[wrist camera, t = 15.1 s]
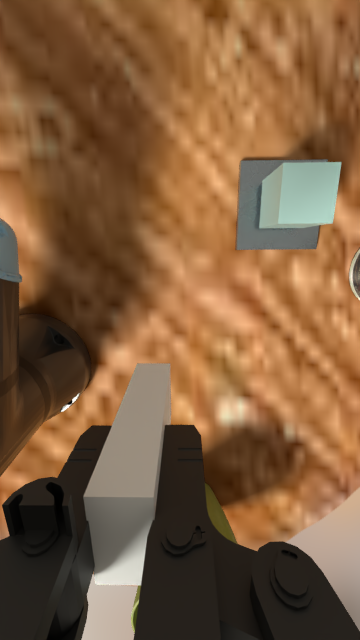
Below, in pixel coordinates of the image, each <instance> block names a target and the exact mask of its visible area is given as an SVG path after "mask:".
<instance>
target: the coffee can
mask: <svg viewBox="0 0 360 640" xmlns="http://www.w3.org/2000/svg"><path fill="white" fill-rule="evenodd" d="M349 281H350V286H351V289H352V291H353V293H354V294H355V296H356V297H357V298H358V299H359V300H360V248H359V250H358V251H357V253H356V254H355V256H354V258H353V260H352V263H351V267H350V272H349Z"/></svg>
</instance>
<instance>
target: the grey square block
mask: <svg viewBox="0 0 360 640" xmlns="http://www.w3.org/2000/svg"><path fill="white" fill-rule="evenodd" d="M304 162H328V159H325V160H254V161H240V165H239V186H238V206H237V227H236V248H235V250H254V249H316V247H317V239H318V231H319V226H312V227H306V228H259V223H260V209H261V195H262V181H263V180H264V179H265V178H266V177H267V176H269V175H270V174H271V173H272V172H273V171H274V170H276V169H277V168H278V167H279V166H280V165H281V164H283V163H304Z"/></svg>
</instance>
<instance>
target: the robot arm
mask: <svg viewBox="0 0 360 640" xmlns="http://www.w3.org/2000/svg"><path fill="white" fill-rule="evenodd" d="M19 282H22V276H21V275H20V274H19V264H18V246H17V238H16V235H15V233H14V231H13V229H12V228H11V227H10V226H9V225H8V224H7V223H6V222H5V221H4V220H2V219H1V218H0V476H1V475H2V474H3V473H4V471H5V470H6V469H7V468H8V466H9V465H10V464H11V463H12V461H13V460H14V459H15V458H16V456H17V455H18V454H19V453H20V451H21V450H22V449H23V447H24V446H25V445H26V444H27V442H28V441H29V440H30V439H31V437H32V436H33V435H34V434H35V432H36V431H37V430H38V429H39V427H40V426H41V425H42V423H43V422H45V421H47V420H48V419H50V418H52V417H54V416H55V415H57V414H59V413H60V412H62V411H64V410H66V409H67V408H69V407H70V406H71V405H72V404H74V403H75V402H76V401H77V399H78V398H79V397H80V395H81V394H82V393H83V391H84V390H85V388H86V386H87V384H88V382H89V379H90V375H91V361H90V356H89V353H88V351H87V348H86V346H85V344H84V343H83V341H82V340H81V338H80V337H79V336H78V335H77V333H76V332H75V331H74V330H72V329H71V328H70V327H69V326H67V325H66V324H64V323H63V322H61V321H59V320H57V319H55V318H52V317H49V316H46V315H41V314H23V315H19ZM170 423H171V384H170V364H137V365H136V368H135V370H134V373H133V375H132V378H131V380H130V383H129V385H128V388H127V390H126V393H125V395H124V398H123V400H122V402H121V405H120V407H119V410H118V412H117V415H116V417H115V420H114V422H113V425H112V426H91V427H90V428H89V429H88V430H87V431H85V432H84V433H83V434H82V435H81V436H80V438H79V439H78V441H77V443H76V445H75V447H74V449H73V451H72V452H71V454H70V456H69V458H68V460H67V462H66V463H65V465H64V467H63V469H62V470H61V472H60V474H59V476H58V478H54V477H48V478H41V479H37V480H35V481H33V482H30V483H28V484H25V485H24V486H23V487H21V488H20V489H18V490H17V491H15V492H14V493H13V494H12V495H11V496H10V497H9V498H8V499H7V500H6V501H5V502H4V504H3V505H2V507H3V511H4V515H5V519H6V523H7V527H8V531H9V535H10V536H9V537H7V538H5V539H2V540H0V640H81V638H82V634H83V631H84V627H85V623H86V619H87V611H88V601H87V592H88V588H89V585H90V581H91V578H92V574H93V571H94V577H95V584H96V585H141V588H140V596H139V604H138V611H137V619H136V627H135V634H134V640H360V631H359V630H358V628H357V626H356V625H355V623H354V622H353V620H352V618H351V617H350V615H349V614H348V612H347V610H346V609H345V607H344V606H343V604H342V602H341V601H340V599H339V598H338V596H337V594H336V593H335V591H334V590H333V588H332V587H331V585H330V583H329V582H328V580H327V578H326V577H325V575H324V574H323V572H322V571H321V569H320V568H319V567H318V566H317V565H316V563H315V562H314V561H313V560H312V558H311V557H310V556H308V555H307V554H306V553H304V552H303V551H302V550H300V549H299V548H298V547H296V546H293V545H291V544H288V543H285V542H269V543H267V544H265V545H264V546H262V547H260V548H259V550H258V551H254V550H252V549H249V548H246V547H244V546H241V545H239V544H236V543H234V542H232V541H230V540H228V539H227V538H226V537H224V536H223V535H222V534H221V533H220V532H219V531H218V530H217V529H216V528H215V526H214V525H213V524H212V521H211V519H210V517H209V515H208V510H207V503H206V491H205V479H204V467H203V456H202V444H201V435H200V434H199V432H198V431H197V429H196V428H195V426H194V425H170Z"/></svg>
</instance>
